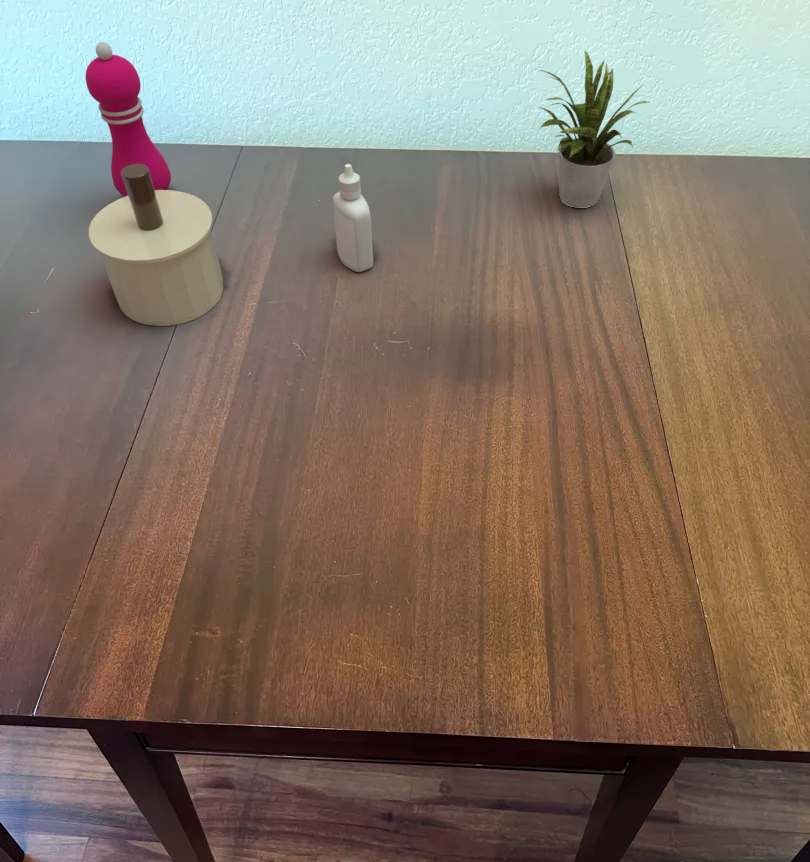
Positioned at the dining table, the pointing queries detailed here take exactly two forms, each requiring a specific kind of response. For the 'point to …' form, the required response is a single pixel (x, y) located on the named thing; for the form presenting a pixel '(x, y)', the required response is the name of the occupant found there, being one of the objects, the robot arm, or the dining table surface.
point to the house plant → (587, 140)
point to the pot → (168, 286)
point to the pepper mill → (124, 117)
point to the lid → (149, 222)
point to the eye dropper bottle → (352, 223)
